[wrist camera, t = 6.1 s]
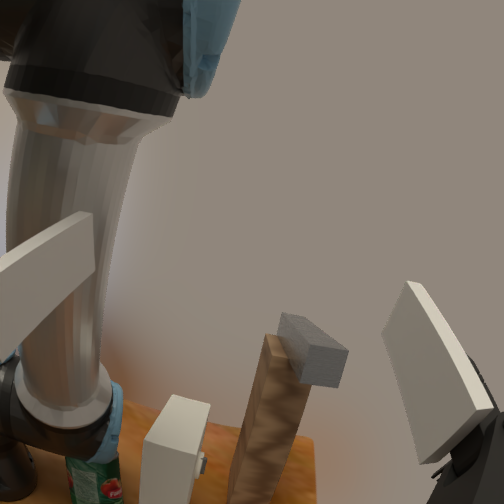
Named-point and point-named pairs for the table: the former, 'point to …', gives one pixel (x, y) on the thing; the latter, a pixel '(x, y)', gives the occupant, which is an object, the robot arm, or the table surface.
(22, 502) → the table surface
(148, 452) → the cream rectangular box
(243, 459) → the tall cabinet
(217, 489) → the table surface
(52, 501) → the table surface
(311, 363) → the grey square bar
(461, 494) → the robot arm
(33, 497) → the table surface
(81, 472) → the canned tomato
